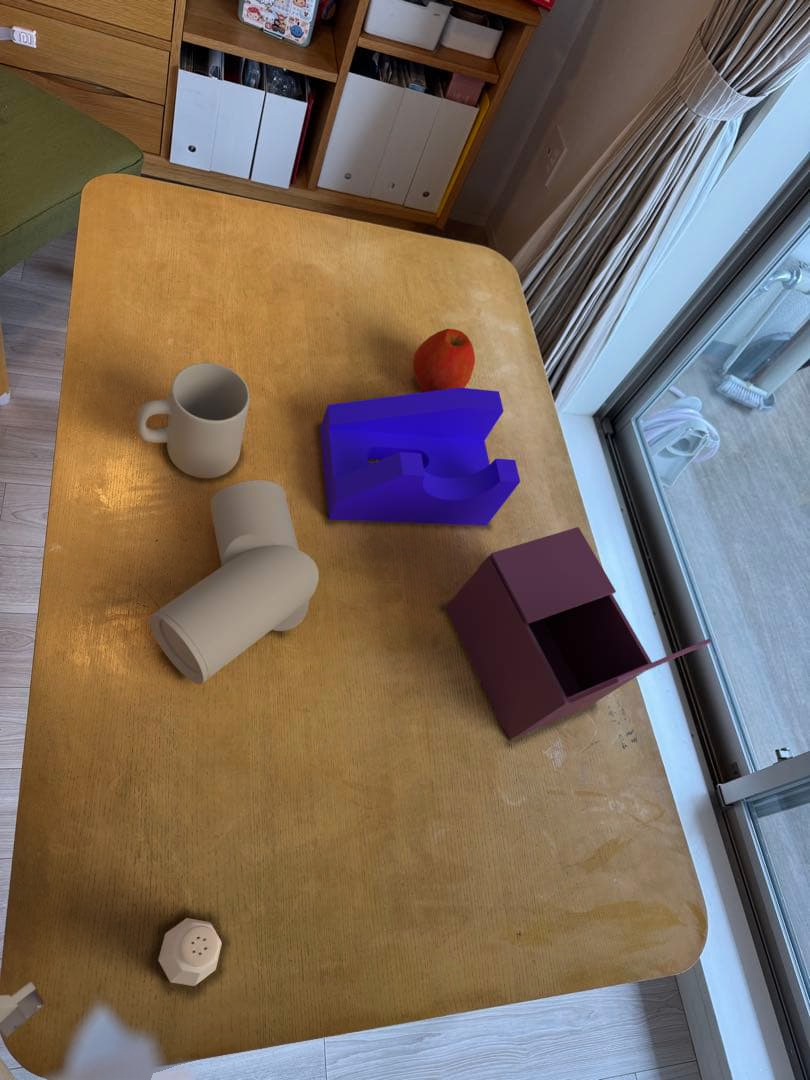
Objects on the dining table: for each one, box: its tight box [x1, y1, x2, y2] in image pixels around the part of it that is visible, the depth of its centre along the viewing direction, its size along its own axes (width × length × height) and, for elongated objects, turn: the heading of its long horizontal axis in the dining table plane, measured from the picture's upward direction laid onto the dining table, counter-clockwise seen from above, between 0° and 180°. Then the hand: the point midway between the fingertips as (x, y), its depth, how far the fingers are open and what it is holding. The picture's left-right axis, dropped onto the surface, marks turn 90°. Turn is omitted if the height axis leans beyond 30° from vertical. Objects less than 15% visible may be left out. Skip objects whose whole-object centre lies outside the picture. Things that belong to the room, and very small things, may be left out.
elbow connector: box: [148, 479, 320, 685], centre depth 81 cm, size 18×11×20 cm
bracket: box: [319, 387, 521, 526], centre depth 96 cm, size 21×14×10 cm, turn 98°
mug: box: [136, 362, 251, 479], centre depth 88 cm, size 12×8×11 cm
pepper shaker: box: [157, 917, 223, 987], centre depth 63 cm, size 5×5×11 cm
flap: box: [569, 638, 712, 703], centre depth 74 cm, size 8×12×1 cm
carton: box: [444, 526, 653, 741], centre depth 86 cm, size 17×12×14 cm
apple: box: [412, 328, 476, 392], centre depth 105 cm, size 8×8×11 cm
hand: (83, 1069), depth 42 cm, fingers open, 8 cm apart
